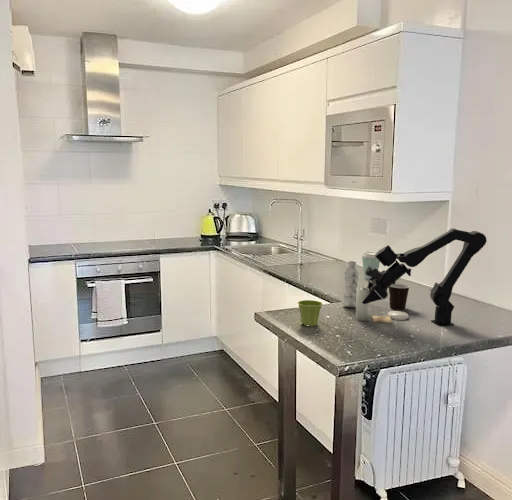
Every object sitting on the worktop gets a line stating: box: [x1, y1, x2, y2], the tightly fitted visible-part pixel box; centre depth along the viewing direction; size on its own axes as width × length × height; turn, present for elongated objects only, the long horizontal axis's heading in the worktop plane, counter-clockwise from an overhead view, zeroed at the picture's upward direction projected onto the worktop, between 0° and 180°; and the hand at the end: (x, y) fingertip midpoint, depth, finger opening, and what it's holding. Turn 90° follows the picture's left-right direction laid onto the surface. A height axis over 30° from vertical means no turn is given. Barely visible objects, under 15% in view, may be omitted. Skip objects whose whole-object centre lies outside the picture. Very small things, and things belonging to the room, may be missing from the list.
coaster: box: [371, 315, 393, 324], centre depth 208 cm, size 7×7×1 cm
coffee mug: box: [388, 283, 410, 311], centre depth 224 cm, size 12×9×10 cm
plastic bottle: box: [342, 261, 360, 308], centre depth 225 cm, size 6×7×20 cm
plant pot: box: [297, 299, 323, 327], centre depth 199 cm, size 9×9×9 cm
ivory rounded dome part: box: [387, 310, 409, 321], centre depth 212 cm, size 8×8×2 cm
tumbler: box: [354, 286, 370, 322], centre depth 208 cm, size 5×5×12 cm
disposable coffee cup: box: [361, 250, 381, 281], centre depth 285 cm, size 11×11×15 cm
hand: (362, 300), depth 208 cm, fingers open, 9 cm apart
